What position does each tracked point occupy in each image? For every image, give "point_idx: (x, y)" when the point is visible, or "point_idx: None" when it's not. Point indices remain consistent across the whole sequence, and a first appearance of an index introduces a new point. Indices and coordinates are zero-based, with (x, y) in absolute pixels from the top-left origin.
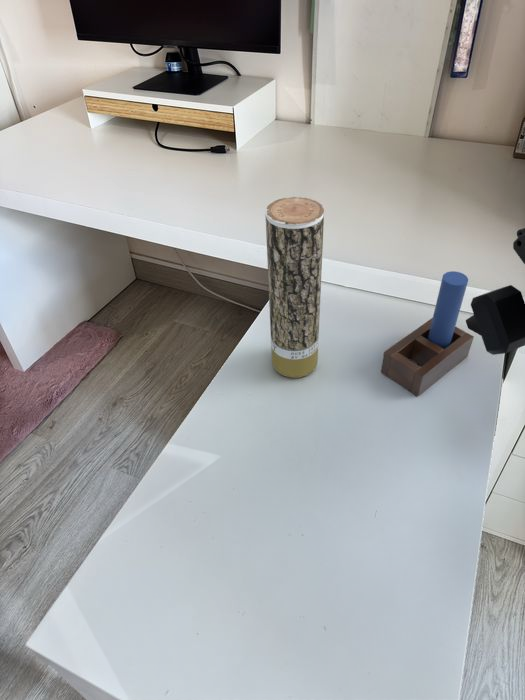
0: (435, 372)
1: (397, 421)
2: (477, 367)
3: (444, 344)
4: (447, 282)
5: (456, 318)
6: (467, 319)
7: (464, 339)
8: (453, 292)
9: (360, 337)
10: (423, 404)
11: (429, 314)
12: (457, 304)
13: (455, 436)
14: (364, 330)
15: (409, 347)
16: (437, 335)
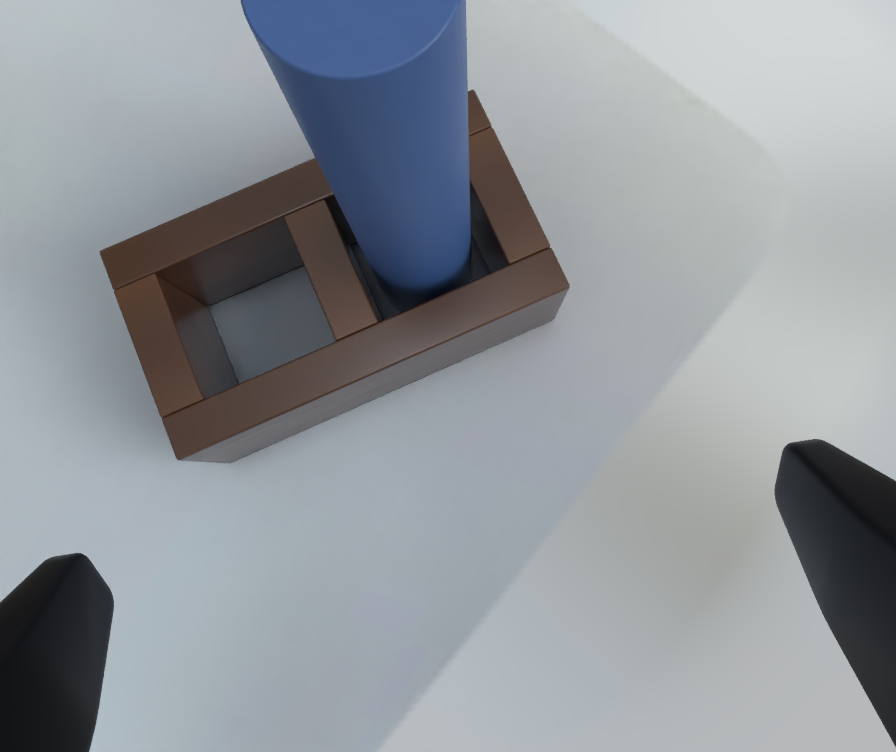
0: (297, 417)
1: (86, 555)
2: (558, 390)
3: (406, 287)
4: (246, 8)
5: (428, 224)
6: (6, 599)
7: (512, 290)
8: (309, 108)
9: (186, 77)
10: (229, 507)
11: (542, 30)
12: (387, 178)
13: (255, 703)
14: (223, 43)
15: (259, 242)
16: (362, 248)
